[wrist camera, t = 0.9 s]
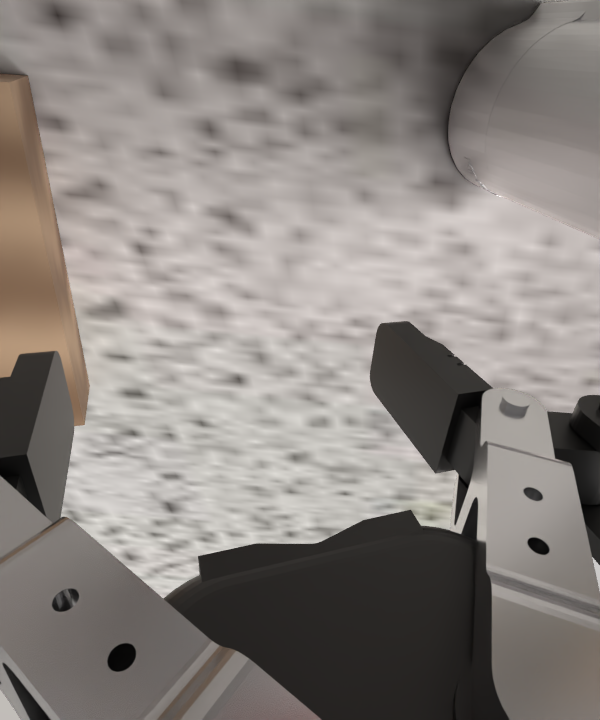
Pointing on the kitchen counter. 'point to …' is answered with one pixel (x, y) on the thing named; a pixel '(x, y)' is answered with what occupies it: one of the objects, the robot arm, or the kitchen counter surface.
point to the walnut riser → (33, 251)
